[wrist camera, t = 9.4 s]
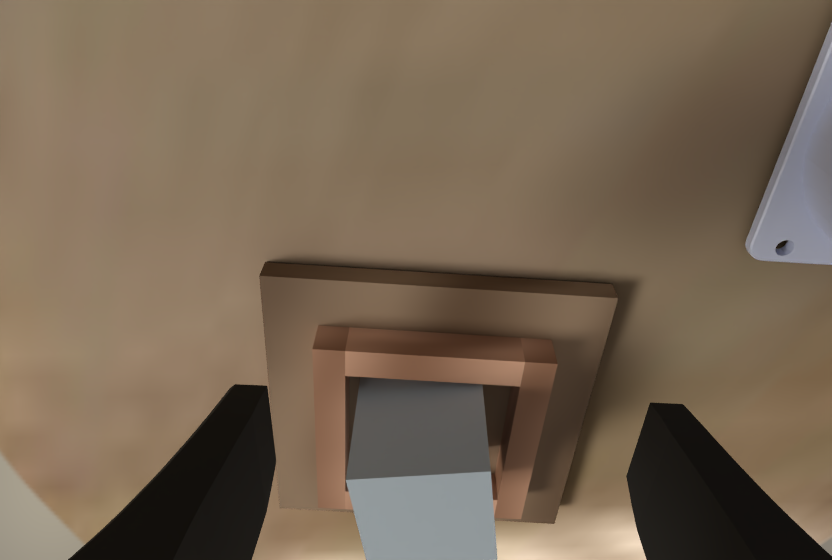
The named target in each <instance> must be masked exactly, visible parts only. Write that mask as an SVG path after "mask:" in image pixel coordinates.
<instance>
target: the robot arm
mask: <svg viewBox="0 0 832 560" xmlns="http://www.w3.org/2000/svg"><path fill="white" fill-rule="evenodd" d="M785 240H788V242H787V243H786V245H785V246H783V247H782V248H779V249H776V246H777V245H778V244H779V243H780V242H782V241H785ZM745 246H746V249H747V251H748V252H749V254H750V255H751V256H752V257H753V258H755V259H757V260H761V261H776V262H792V263H807V264H823V265H832V23H831V26H830V28H829V31H828V33H827V36H826V38H825V41H824V43H823V46H822V48H821V51H820V54H819V56H818V59H817V61H816V64H815V66H814V69H813V71H812V74H811V76H810V79H809V82H808V84H807V87H806V89H805V92H804V94H803V97H802V99H801V102H800V104H799V107H798V109H797V112H796V115H795V117H794V120H793V122H792V125H791V127H790V130H789V132H788V135H787V137H786V140H785V143H784V145H783V148H782V150H781V153H780V155H779V158H778V160H777V163H776V165H775V168H774V171H773V173H772V176H771V178H770V181H769V183H768V186H767V188H766V191H765V193H764V196H763V199H762V201H761V204H760V206H759V209H758V211H757V214H756V216H755V219H754V221H753V224H752V226H751V229H750V232H749V234H748V237H747V239H746V244H745ZM275 465H276V454H275V446H274V437H273V429H272V421H271V413H270V405H269V397H268V389H267V386H259V385H237V384H235V385H234V386H232V387H231V388H230V389H229V390H228V391H227V393H226V394H225V395H224V397H223V398H222V399H221V400H220V402H219V403H218V404H217V405H216V407H215V408H214V409H213V410H212V412H211V413H210V414H209V415H208V416H207V418H206V419H205V420H204V421H203V423H202V424H201V425H200V426H199V427H198V428H197V430H196V431H195V432H194V433H193V434H192V436H191V437H190V438H189V439H188V440H187V441H186V443H185V444H184V445H183V446H182V447H181V448H180V449H179V450H178V452H177V453H176V454H175V455H174V456H173V457H172V458H171V459H170V461H169V462H168V463H167V464H166V465H165V466H164V467H163V468H162V470H161V471H160V472H159V473H158V474H157V475H156V476H155V477H154V478H153V479H152V480H151V481H150V482H149V483H148V484H147V485H146V486H145V487H144V488H143V489H142V490H141V491H140V492H139V494H138V495H137V496H136V497H135V498H134V499H133V500H132V501H131V502H130V503H129V504H128V505H127V506H126V507H125V508H124V509H123V510H122V511H121V512H120V513H119V514H118V515H117V516H116V517H115V518H114V519H113V520H111V521H110V522H109V523H108V524H107V525H106V526H105V527H104V528H103V529H102V530H101V531H100V532H99V533H98V534H96V535H95V536H94V537H93V538H92V539H91V540H90V541H89V542H88V543H86V544H85V545H84V546H83V547H82V548H81V549H80V550H79V551H77V552H76V553H75V554H74V555H73V556H72V557H71V558H69V559H68V560H252V557H253V554H254V550H255V547H256V544H257V541H258V538H259V534H260V531H261V528H262V525H263V521H264V518H265V515H266V512H267V507H268V502H269V497H270V492H271V487H272V481H273V476H274V471H275ZM627 481H628V487H629V492H630V498H631V503H632V508H633V513H634V517H635V522H636V527H637V531H638V534H639V537H640V540H641V543H642V546H643V549H644V553H645V556H646V559H647V560H832V556H831V555H830V554H829V553H827V552H826V551H825V550H824V549H823V548H822V547H821V546H820V545H819V544H818V543H817V542H816V541H815V540H813V539H812V538H811V537H810V536H809V535H808V534H807V533H806V532H805V531H804V530H803V529H802V528H801V527H800V526H799V525H798V524H796V523H795V522H794V521H793V520H792V519H791V518H790V517H789V516H788V515H787V514H786V513H785V512H784V511H783V510H782V509H781V508H780V507H779V506H778V505H777V504H776V503H775V502H774V501H773V500H772V499H771V498H770V497H769V496H768V495H767V494H766V493H765V492H764V491H763V490H762V489H761V488H760V487H759V486H758V485H757V484H756V483H755V482H754V481H753V479H752V478H751V477H750V476H749V475H748V474H747V473H746V472H745V471H744V470H743V469H742V468H741V467H740V466H739V465H738V464H737V463H736V461H735V460H734V459H733V458H732V457H731V456H730V455H729V454H728V453H727V452H726V451H725V450H724V448H723V447H722V446H721V445H720V444H719V443H718V442H717V441H716V440H715V439H714V438H713V436H712V435H711V434H710V433H709V432H708V431H707V430H706V429H705V428H704V427H703V425H702V424H701V423H700V422H699V421H698V420H697V419H696V418H695V417H694V416H693V415H692V413H691V412H690V411H689V410H688V409H687V408H686V407H685V406H684V405H683V404H668V403H650V405H649V408H648V411H647V414H646V417H645V420H644V423H643V426H642V430H641V433H640V436H639V439H638V442H637V445H636V448H635V451H634V454H633V458H632V461H631V464H630V467H629V470H628V473H627Z"/></svg>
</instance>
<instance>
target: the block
mask: <svg viewBox="0 0 832 560" xmlns="http://www.w3.org/2000/svg"><path fill="white" fill-rule="evenodd" d="M346 483H347V487H348V491H349V495H350V499H351V502H352V506H353V510H354V514H355V518H356V522H357V526H358V529H359V533H360V537H361V541H362V545H363V549H364V553H365V556H366V560H497V548H496V535H495V521H494V508H493V494H492V481H491V468H490V458H489V447H488V437H487V427H486V416H485V406H484V396H483V385H482V384H470V383H453V382H437V381H420V380H403V379H387V378H370V377H360V383H359V390H358V397H357V404H356V411H355V418H354V425H353V432H352V439H351V446H350V453H349V460H348V467H347V474H346Z"/></svg>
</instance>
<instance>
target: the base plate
mask: <svg viewBox="0 0 832 560" xmlns="http://www.w3.org/2000/svg"><path fill="white" fill-rule="evenodd" d="M259 277H260V289H261V300H262V312H263V323H264V334H265V346H266V357H267V369H268V380H269V391H270V403H271V414H272V426H273V437H274V446H275V454H276V471H277V483H278V494H279V506H280V508H288V509H305V510H323V511H340V512H354V510H353V506H352V502H351V499H350V495H349V491H348V487H347V483H346V474H347V467H348V460H349V453H350V446H351V439H352V432H353V425H354V418H355V411H356V404H357V397H358V390H359V383H360V377H370V378H387V379H403V380H420V381H437V382H453V383H470V384H482V385H483V396H484V406H485V416H486V427H487V437H488V447H489V458H490V468H491V481H492V494H493V508H494V520H497V521H514V522H532V523H549V524H554V523H555V520H556V516H557V513H558V509H559V506H560V502H561V498H562V495H563V491H564V488H565V484H566V481H567V477H568V474H569V470H570V467H571V463H572V460H573V456H574V453H575V449H576V446H577V442H578V439H579V435H580V432H581V428H582V425H583V421H584V417H585V414H586V410H587V407H588V403H589V400H590V396H591V393H592V389H593V386H594V382H595V379H596V375H597V372H598V368H599V365H600V361H601V358H602V354H603V351H604V347H605V344H606V340H607V336H608V333H609V329H610V326H611V322H612V319H613V315H614V312H615V308H616V305H617V301H618V296H617V294H616V292H615V289H614V287H613V285H612V284H604V283H588V282H572V281H556V280H540V279H524V278H508V277H492V276H476V275H460V274H445V273H429V272H413V271H397V270H381V269H365V268H349V267H333V266H317V265H301V264H285V263H270V262H265V264H264V266H263V269H262V271H261V273H260V276H259Z"/></svg>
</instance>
